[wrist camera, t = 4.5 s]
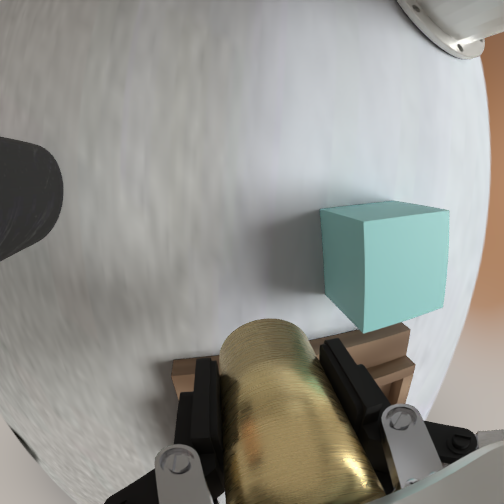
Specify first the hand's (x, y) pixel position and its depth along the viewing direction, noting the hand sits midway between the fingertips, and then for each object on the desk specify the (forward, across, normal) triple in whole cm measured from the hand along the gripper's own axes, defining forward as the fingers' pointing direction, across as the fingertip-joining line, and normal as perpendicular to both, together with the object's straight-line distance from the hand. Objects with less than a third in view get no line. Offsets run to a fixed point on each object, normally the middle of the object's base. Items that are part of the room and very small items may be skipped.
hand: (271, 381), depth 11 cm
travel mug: (+9, +15, -9) cm, 20 cm away
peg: (+2, 0, 0) cm, 2 cm away
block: (+9, -8, -2) cm, 13 cm away
